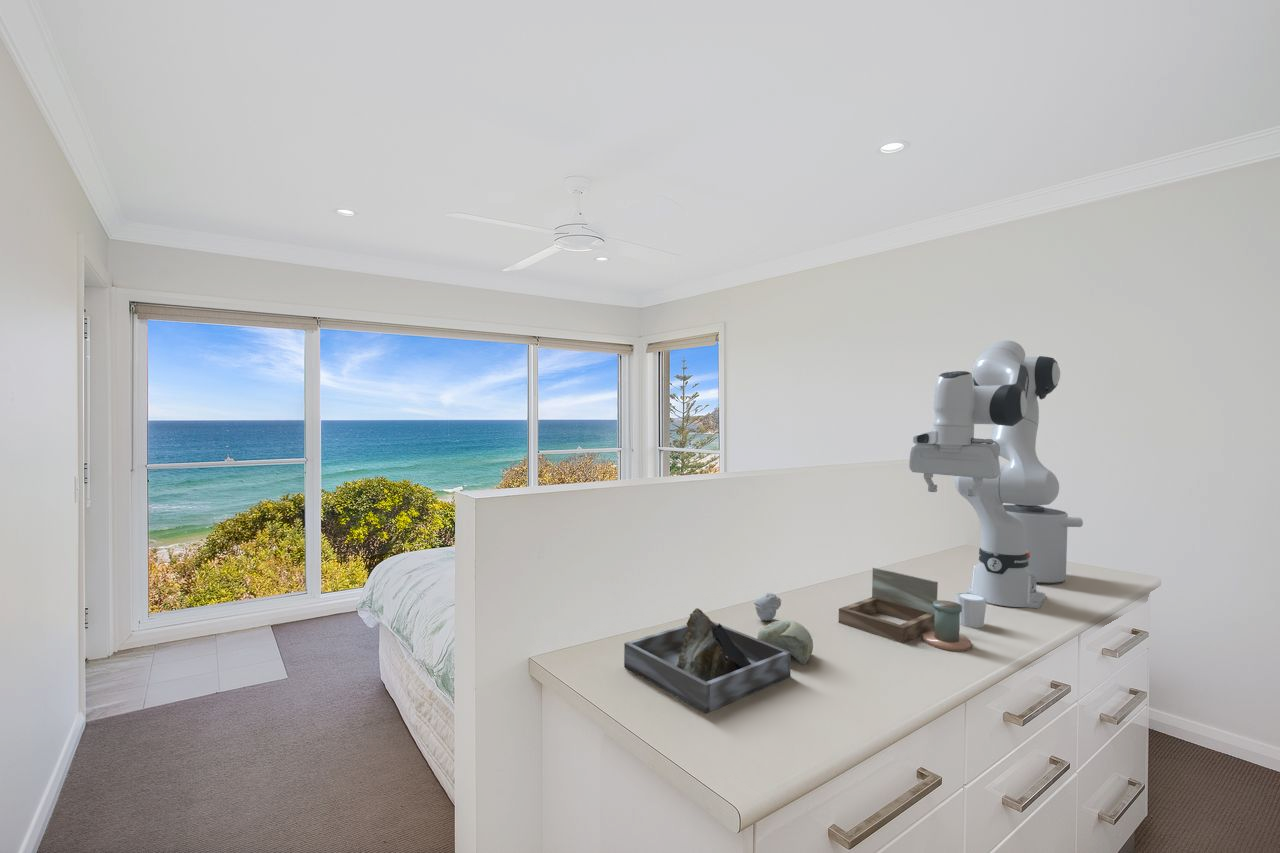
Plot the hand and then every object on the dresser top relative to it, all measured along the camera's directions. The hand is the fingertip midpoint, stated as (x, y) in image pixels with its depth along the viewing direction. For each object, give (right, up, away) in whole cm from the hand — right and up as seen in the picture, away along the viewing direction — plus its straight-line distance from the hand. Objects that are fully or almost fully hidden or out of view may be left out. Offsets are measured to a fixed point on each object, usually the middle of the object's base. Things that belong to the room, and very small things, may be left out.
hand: (952, 494), depth 144 cm
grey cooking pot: (+54, -34, +50) cm, 81 cm away
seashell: (-44, -34, -14) cm, 57 cm away
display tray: (-63, -34, -23) cm, 75 cm away
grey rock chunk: (-44, -34, +7) cm, 56 cm away
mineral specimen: (-61, -33, -25) cm, 74 cm away
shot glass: (+8, -34, +6) cm, 36 cm away
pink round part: (-5, -34, -6) cm, 35 cm away
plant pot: (-5, -33, -6) cm, 34 cm away
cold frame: (-14, -34, +5) cm, 37 cm away
